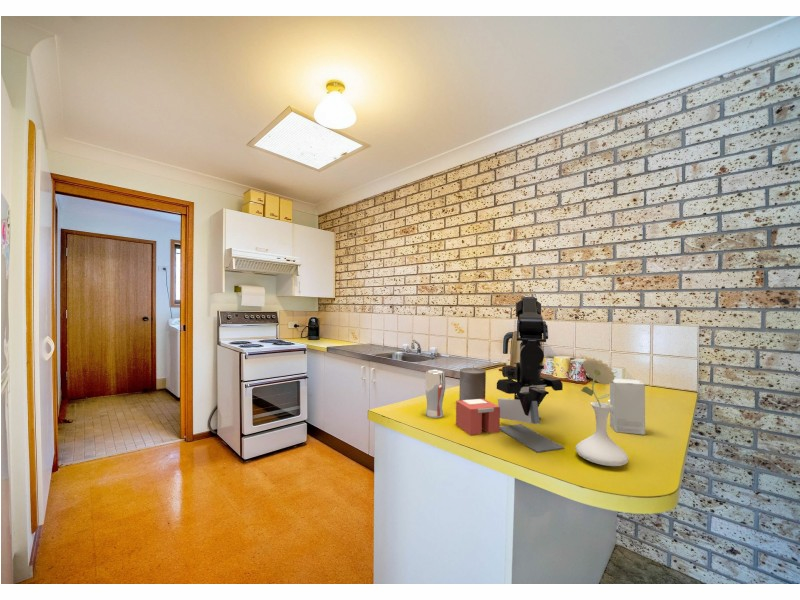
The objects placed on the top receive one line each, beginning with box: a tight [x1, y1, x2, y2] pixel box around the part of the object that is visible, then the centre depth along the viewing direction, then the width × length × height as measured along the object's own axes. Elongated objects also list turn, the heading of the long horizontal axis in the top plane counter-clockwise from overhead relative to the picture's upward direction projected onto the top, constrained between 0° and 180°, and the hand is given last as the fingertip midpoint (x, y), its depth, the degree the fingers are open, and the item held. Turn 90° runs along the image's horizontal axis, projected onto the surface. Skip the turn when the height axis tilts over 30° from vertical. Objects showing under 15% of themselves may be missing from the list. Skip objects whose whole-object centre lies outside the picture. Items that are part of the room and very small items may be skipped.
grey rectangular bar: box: [497, 398, 541, 425], centre depth 102 cm, size 2×17×6 cm, turn 18°
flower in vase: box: [574, 357, 629, 467], centre depth 85 cm, size 13×11×25 cm
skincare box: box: [609, 377, 646, 436], centre depth 105 cm, size 8×7×16 cm
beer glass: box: [424, 369, 446, 419], centre depth 116 cm, size 7×7×15 cm
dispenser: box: [455, 398, 501, 436], centre depth 104 cm, size 10×9×8 cm
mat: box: [500, 424, 566, 453], centre depth 97 cm, size 9×18×1 cm, turn 18°
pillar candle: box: [458, 366, 487, 401], centre depth 127 cm, size 10×10×15 cm
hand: (529, 414), depth 97 cm, fingers closed on grey rectangular bar, 2 cm apart
